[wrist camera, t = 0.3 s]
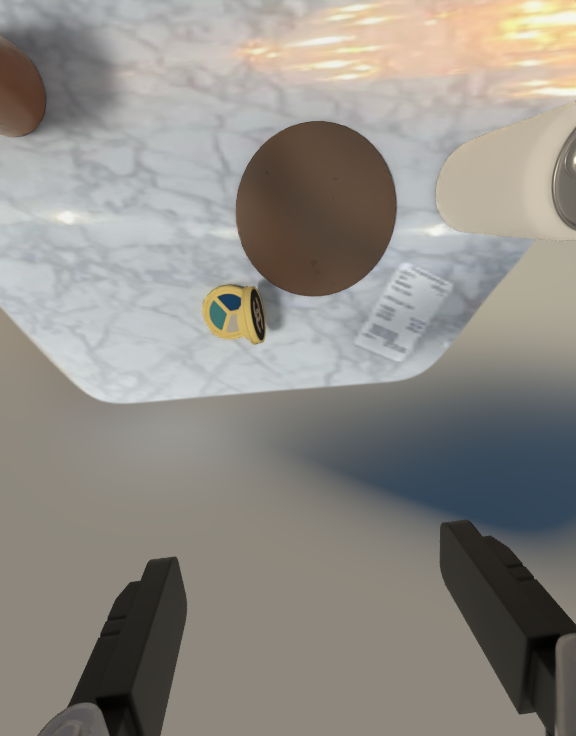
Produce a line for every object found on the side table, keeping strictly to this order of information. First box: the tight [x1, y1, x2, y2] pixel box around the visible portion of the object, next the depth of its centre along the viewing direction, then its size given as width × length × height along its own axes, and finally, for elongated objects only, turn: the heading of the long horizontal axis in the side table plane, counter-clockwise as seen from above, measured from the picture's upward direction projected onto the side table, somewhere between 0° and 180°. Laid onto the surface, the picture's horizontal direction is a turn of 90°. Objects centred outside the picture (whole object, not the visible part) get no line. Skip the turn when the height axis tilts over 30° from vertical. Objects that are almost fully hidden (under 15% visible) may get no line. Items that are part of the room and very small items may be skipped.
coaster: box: [236, 121, 396, 296], centre depth 27 cm, size 12×12×1 cm
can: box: [435, 101, 576, 241], centre depth 22 cm, size 6×6×12 cm
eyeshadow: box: [203, 285, 266, 345], centre depth 28 cm, size 4×5×5 cm
